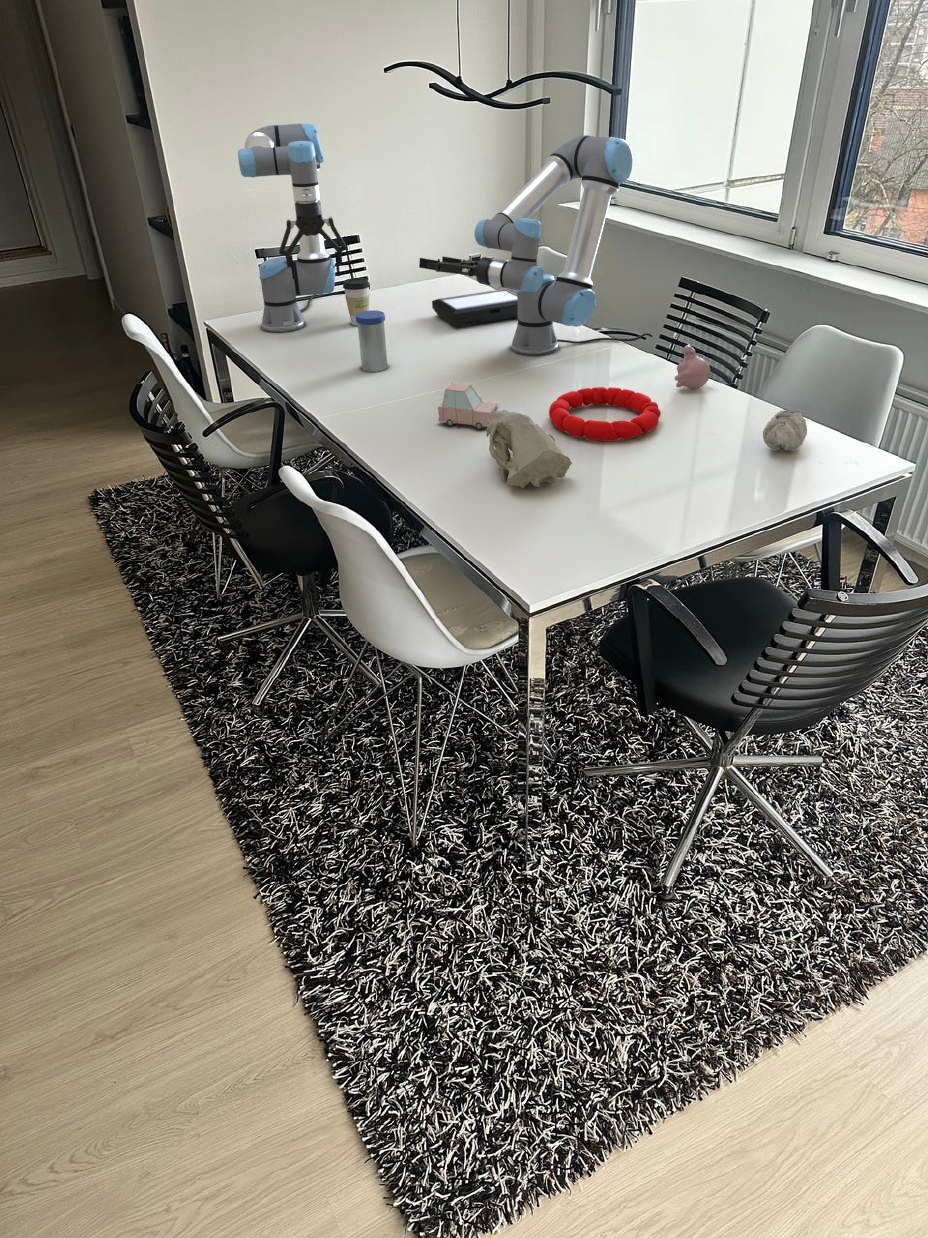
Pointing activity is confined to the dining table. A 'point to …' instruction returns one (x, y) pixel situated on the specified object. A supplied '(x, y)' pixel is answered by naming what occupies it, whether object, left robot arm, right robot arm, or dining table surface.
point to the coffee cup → (356, 296)
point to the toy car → (465, 406)
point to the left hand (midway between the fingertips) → (316, 276)
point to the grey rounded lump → (785, 431)
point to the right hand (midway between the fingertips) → (431, 261)
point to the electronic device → (477, 307)
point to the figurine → (692, 370)
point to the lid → (370, 317)
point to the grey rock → (525, 450)
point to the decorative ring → (604, 428)
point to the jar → (372, 347)
